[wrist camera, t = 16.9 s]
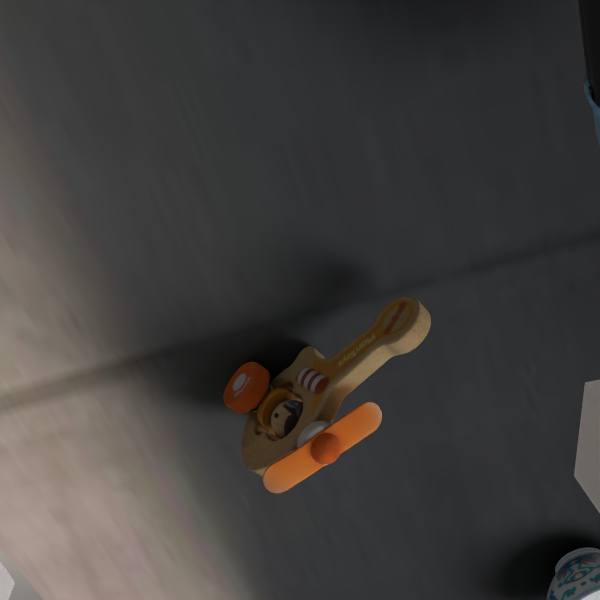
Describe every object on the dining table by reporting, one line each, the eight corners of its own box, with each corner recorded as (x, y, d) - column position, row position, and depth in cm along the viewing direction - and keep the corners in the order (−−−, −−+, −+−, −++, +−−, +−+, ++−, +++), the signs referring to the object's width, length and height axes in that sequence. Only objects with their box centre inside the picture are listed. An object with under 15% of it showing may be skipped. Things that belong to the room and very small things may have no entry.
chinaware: (518, 545, 70) (547, 603, 63) (635, 512, 69) (677, 568, 62) (530, 609, 77) (557, 667, 70) (635, 580, 76) (673, 637, 69)
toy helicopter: (214, 387, 53) (207, 500, 41) (374, 244, 48) (419, 328, 36) (274, 429, 57) (283, 545, 45) (431, 300, 51) (489, 394, 39)
